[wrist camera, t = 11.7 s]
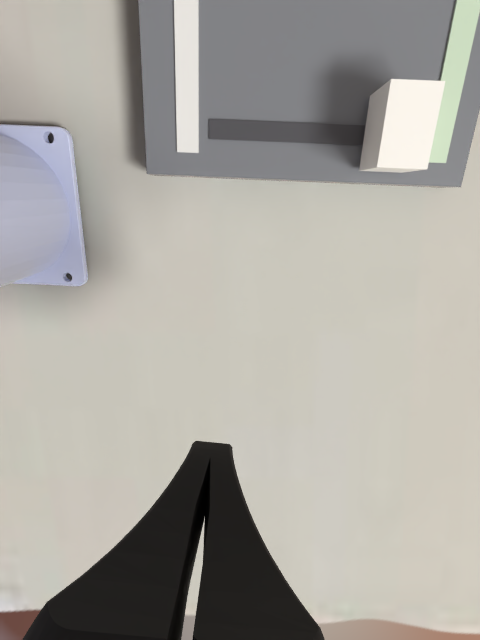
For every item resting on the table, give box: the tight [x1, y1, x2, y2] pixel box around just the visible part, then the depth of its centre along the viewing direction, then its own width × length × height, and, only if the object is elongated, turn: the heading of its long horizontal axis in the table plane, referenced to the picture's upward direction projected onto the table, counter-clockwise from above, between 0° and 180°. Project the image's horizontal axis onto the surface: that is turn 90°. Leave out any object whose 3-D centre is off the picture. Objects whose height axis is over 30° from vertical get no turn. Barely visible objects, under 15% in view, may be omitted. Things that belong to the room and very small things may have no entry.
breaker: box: [359, 79, 445, 173], centre depth 14 cm, size 2×3×2 cm, turn 177°
